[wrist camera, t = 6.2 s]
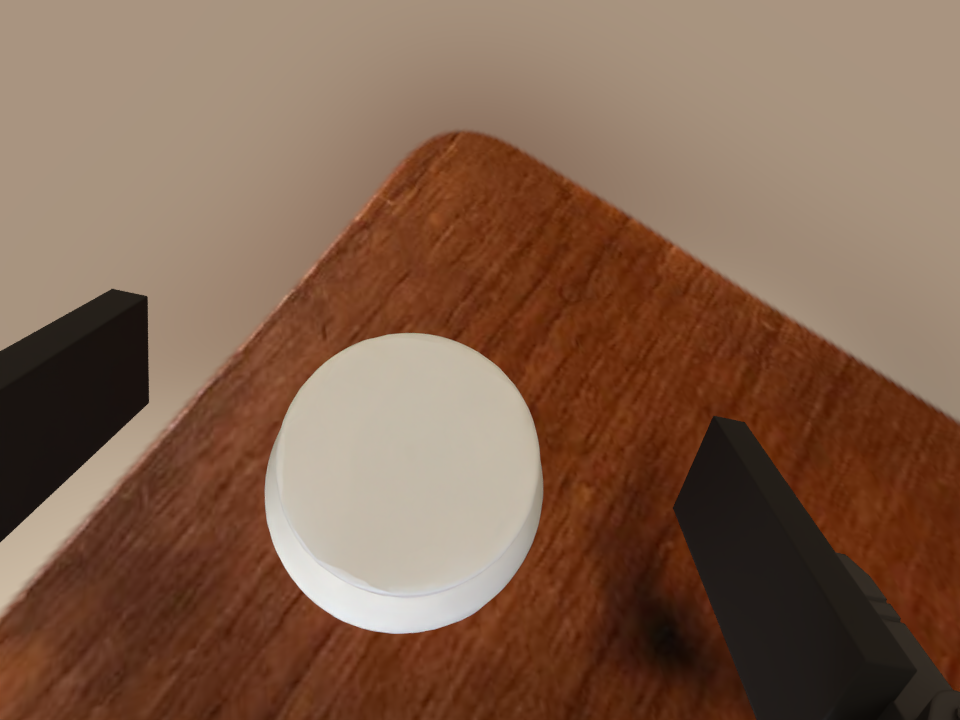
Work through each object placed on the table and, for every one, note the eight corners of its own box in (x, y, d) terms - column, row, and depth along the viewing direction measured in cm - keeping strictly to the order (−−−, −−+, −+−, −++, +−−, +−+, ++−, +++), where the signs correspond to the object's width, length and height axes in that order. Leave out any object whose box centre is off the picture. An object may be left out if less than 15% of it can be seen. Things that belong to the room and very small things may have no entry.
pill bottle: (525, 554, 18) (655, 537, 9) (359, 650, 17) (319, 741, 8) (441, 396, 19) (484, 244, 10) (280, 474, 18) (167, 375, 9)
